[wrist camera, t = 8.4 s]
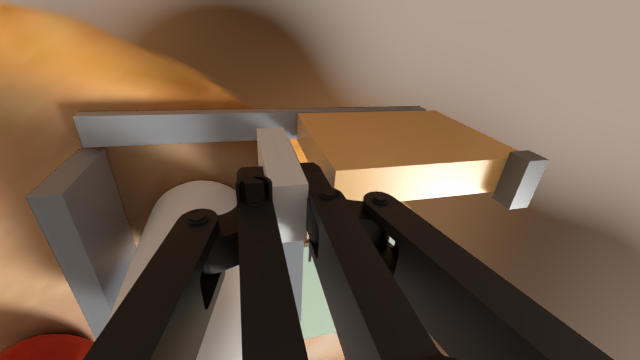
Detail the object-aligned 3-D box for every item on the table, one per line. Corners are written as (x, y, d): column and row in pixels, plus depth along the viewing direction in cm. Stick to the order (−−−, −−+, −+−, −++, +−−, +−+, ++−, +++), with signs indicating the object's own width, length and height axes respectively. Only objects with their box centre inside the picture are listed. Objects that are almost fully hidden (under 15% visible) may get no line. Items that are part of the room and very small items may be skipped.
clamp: (130, 292, 26) (106, 359, 21) (65, 112, 18) (2, 149, 13) (387, 253, 32) (417, 298, 27) (419, 106, 24) (468, 130, 19)
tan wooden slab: (297, 145, 22) (339, 230, 13) (297, 107, 21) (345, 175, 12) (427, 139, 25) (533, 206, 16) (435, 105, 23) (555, 159, 15)
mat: (262, 343, 34) (263, 348, 33) (256, 249, 27) (257, 253, 27) (375, 319, 37) (377, 323, 37) (394, 231, 31) (397, 235, 30)
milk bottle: (134, 235, 24) (-114, 799, 7) (181, 159, 22) (4, 680, 5) (223, 265, 27) (209, 677, 10) (270, 202, 25) (348, 582, 8)
